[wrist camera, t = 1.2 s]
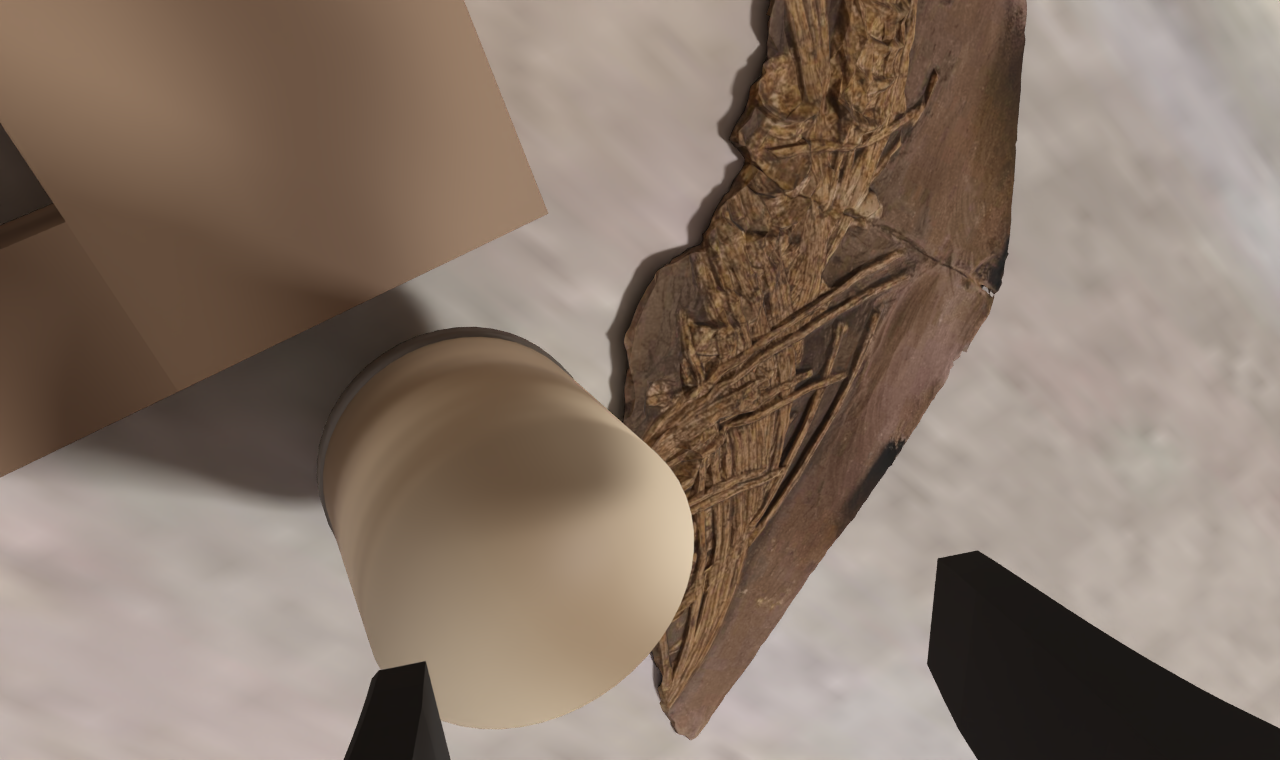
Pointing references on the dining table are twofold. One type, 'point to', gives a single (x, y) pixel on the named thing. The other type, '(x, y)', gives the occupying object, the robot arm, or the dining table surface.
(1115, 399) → the dining table surface
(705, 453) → the wooden fragment
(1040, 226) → the dining table surface
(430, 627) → the peg
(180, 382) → the board
